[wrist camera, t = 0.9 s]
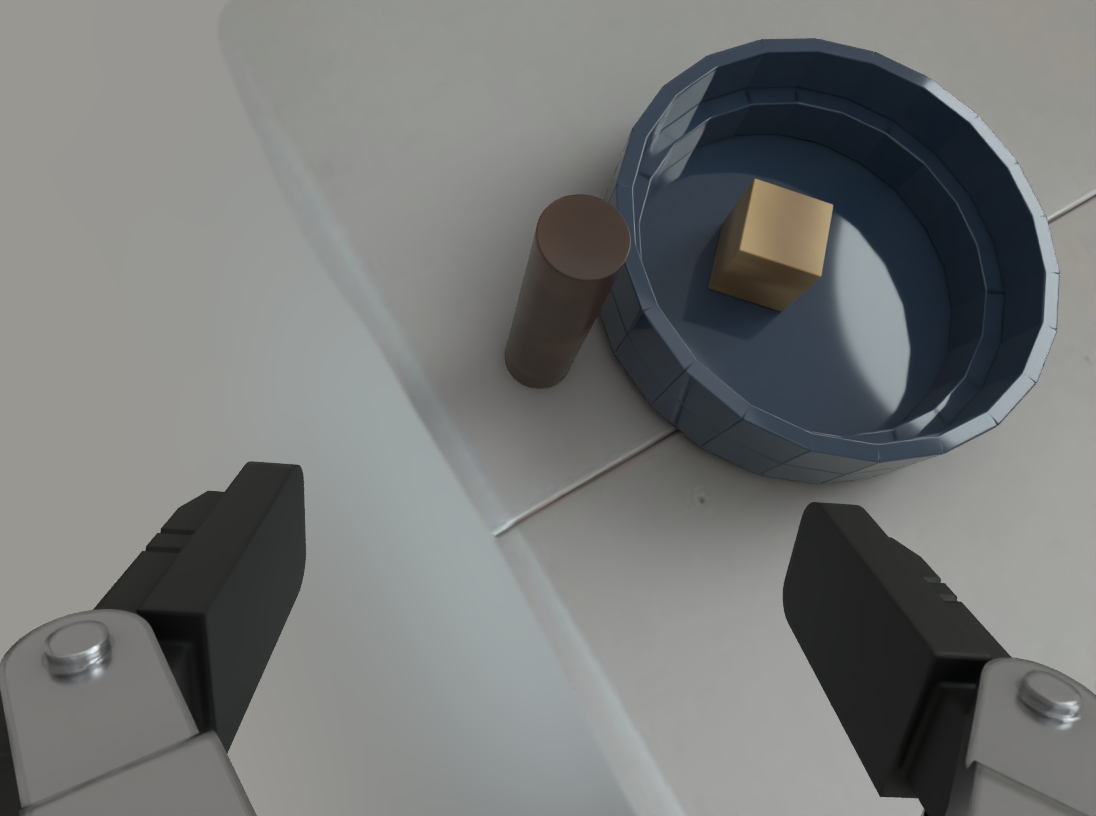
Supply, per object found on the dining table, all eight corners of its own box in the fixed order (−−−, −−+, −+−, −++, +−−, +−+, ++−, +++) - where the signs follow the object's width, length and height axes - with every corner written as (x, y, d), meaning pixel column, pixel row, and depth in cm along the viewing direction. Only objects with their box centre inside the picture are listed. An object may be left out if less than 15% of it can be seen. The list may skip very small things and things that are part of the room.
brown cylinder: (496, 377, 30) (524, 262, 20) (515, 317, 31) (550, 181, 21) (561, 397, 30) (618, 293, 20) (577, 337, 31) (641, 211, 21)
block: (707, 288, 32) (739, 249, 28) (722, 222, 33) (754, 177, 29) (781, 312, 32) (821, 277, 29) (794, 246, 33) (834, 204, 30)
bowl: (541, 412, 30) (561, 372, 25) (642, 66, 35) (674, -20, 31) (953, 540, 31) (1048, 525, 26) (986, 184, 36) (1068, 119, 32)
